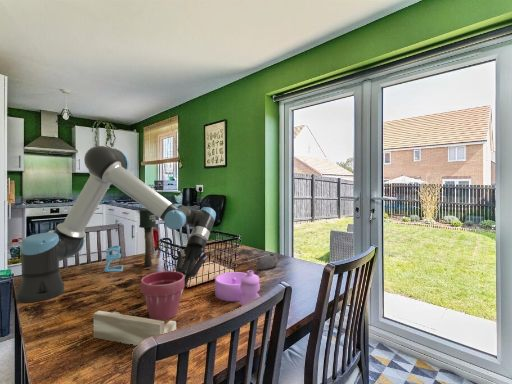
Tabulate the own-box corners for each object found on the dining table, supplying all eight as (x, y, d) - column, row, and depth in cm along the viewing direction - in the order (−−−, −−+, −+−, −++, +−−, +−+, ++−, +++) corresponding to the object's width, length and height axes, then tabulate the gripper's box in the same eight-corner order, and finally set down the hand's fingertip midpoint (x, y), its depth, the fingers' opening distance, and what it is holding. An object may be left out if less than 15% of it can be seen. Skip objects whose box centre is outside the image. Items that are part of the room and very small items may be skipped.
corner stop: (114, 323, 89) (114, 302, 89) (176, 334, 83) (176, 311, 83) (93, 337, 81) (93, 313, 81) (160, 350, 76) (160, 324, 75)
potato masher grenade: (150, 269, 143) (150, 210, 142) (135, 267, 145) (135, 210, 144) (159, 264, 151) (159, 209, 150) (145, 263, 153) (145, 208, 152)
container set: (209, 290, 117) (209, 259, 116) (242, 284, 125) (242, 254, 124) (235, 316, 95) (235, 277, 95) (273, 306, 103) (273, 271, 102)
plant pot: (135, 311, 97) (135, 275, 97) (175, 301, 106) (175, 268, 105) (148, 329, 86) (148, 288, 85) (191, 316, 94) (191, 279, 94)
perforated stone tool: (260, 272, 141) (260, 258, 140) (253, 269, 145) (253, 256, 144) (280, 266, 151) (281, 253, 150) (273, 264, 155) (274, 251, 154)
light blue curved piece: (105, 268, 143) (104, 245, 143) (123, 266, 147) (122, 243, 146) (103, 273, 136) (103, 248, 136) (122, 271, 140) (122, 247, 139)
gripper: (215, 245, 120) (197, 299, 105) (187, 243, 123) (166, 295, 108) (210, 235, 115) (190, 291, 99) (181, 233, 118) (158, 287, 103)
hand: (177, 293), depth 104 cm, fingers closed
